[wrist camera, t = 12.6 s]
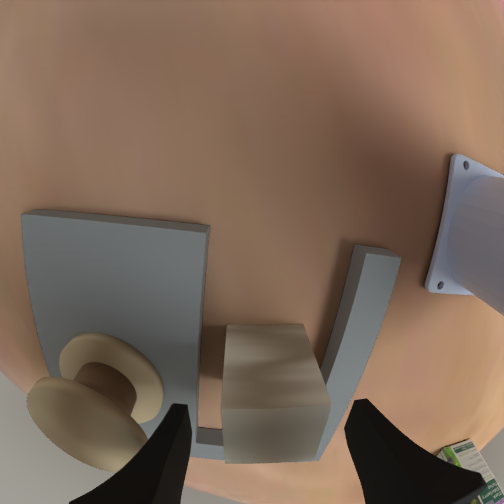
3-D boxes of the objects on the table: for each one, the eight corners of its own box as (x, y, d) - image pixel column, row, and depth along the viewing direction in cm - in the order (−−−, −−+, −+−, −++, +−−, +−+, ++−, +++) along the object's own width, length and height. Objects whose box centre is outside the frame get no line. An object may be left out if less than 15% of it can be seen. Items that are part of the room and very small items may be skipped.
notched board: (388, 249, 14) (401, 258, 12) (315, 446, 18) (318, 460, 17) (37, 208, 12) (21, 214, 11) (76, 413, 17) (70, 426, 16)
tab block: (303, 324, 15) (331, 404, 9) (295, 379, 16) (314, 459, 10) (227, 324, 15) (220, 408, 9) (228, 380, 16) (224, 463, 10)
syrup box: (471, 436, 21) (518, 512, 7) (446, 464, 23) (483, 536, 9) (443, 446, 21) (490, 534, 7) (417, 474, 23) (452, 556, 9)
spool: (162, 344, 13) (135, 412, 9) (167, 423, 15) (153, 483, 11) (55, 321, 13) (9, 369, 8) (77, 400, 15) (50, 449, 10)
